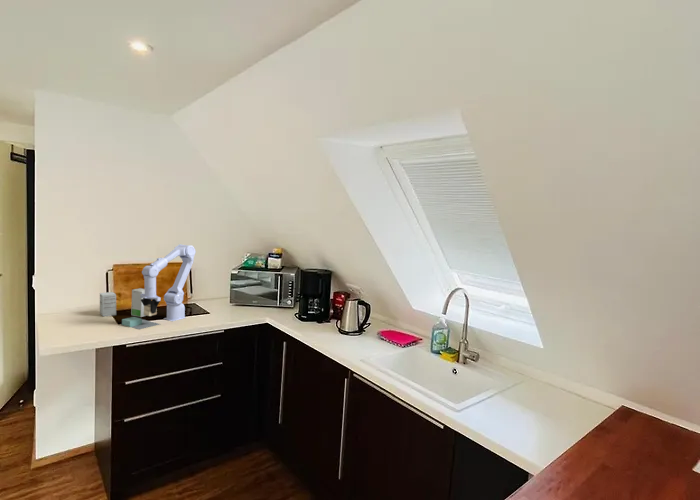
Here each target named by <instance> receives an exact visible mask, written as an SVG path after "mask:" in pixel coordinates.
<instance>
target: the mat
mask: <svg viewBox="0 0 700 500" xmlns="http://www.w3.org/2000/svg"><path fill="white" fill-rule="evenodd" d="M141 319H142V324H141V325H137V326H132V327H130V328H131V329H135V330H143V329H147V328H151V327H155V326H160V325H161V323H157V322H154V321H150V320H146V319H143V318H141ZM120 325H121V326H123V327H126V326H125V325H122V323H120Z"/></svg>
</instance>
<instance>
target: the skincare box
mask: <svg viewBox="0 0 700 500" xmlns="http://www.w3.org/2000/svg"><path fill="white" fill-rule="evenodd" d="M140 294H145V288H142V287H139V288H134V289H131V310H130V311H131V312H130V314H131V316H132V317H137V318H142V317H146V316H147V315H144V305H143V303H142V302H141V299H143V298H140ZM147 317H148V316H147Z"/></svg>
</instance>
